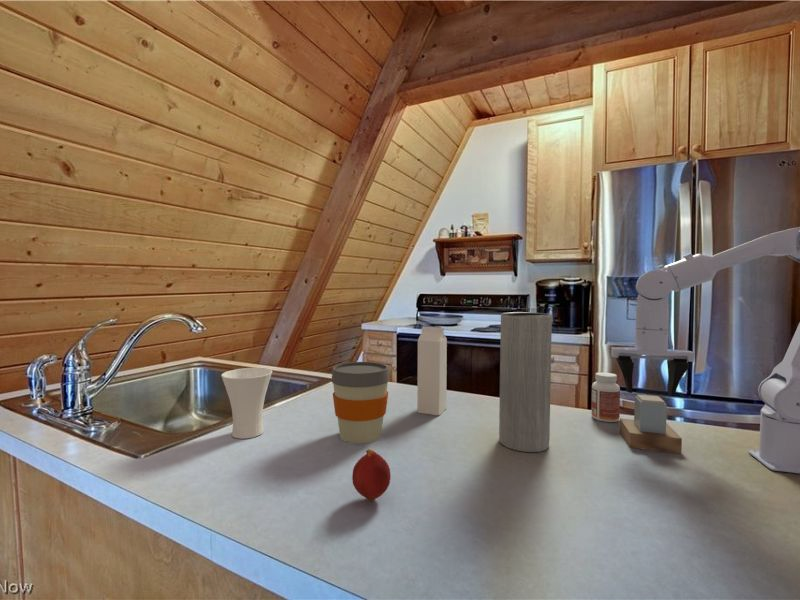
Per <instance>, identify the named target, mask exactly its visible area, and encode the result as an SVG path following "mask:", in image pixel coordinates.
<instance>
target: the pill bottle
mask: <svg viewBox="0 0 800 600" xmlns="http://www.w3.org/2000/svg"><path fill="white" fill-rule="evenodd" d="M594 379H595V381H594V382H592V385H591V417H592V418H593V419H594V420H597V421H600V422H604V423H605V422H606V423H615V422H618V421H620V415H621V414H620V413H621V411H620V409H621V407H620V406H621V405H620V404H621V388H620V385H619V384H618V383H616V382H617V380H618V375H617V374H616V373H612V372H611V373H610V372H603V371H602V372H601V371H600V372H595V377H594Z"/></svg>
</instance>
